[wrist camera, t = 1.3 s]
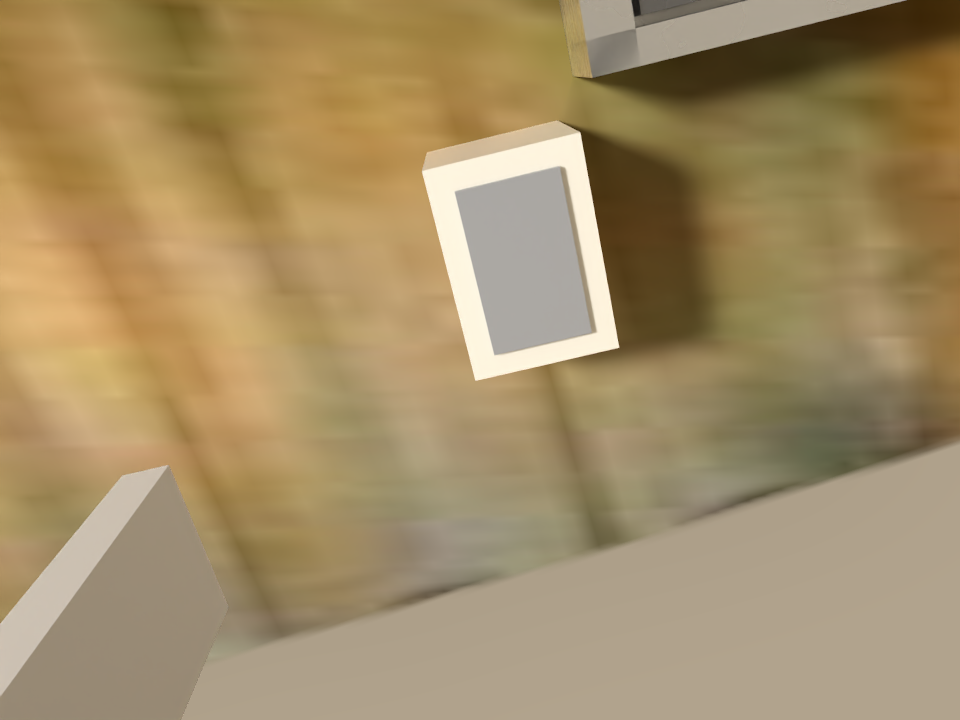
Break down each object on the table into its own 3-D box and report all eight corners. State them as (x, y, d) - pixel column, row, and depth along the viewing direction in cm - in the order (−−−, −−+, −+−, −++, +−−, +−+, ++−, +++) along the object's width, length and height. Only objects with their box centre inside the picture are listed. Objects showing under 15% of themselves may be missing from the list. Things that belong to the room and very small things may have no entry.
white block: (427, 152, 26) (421, 172, 22) (557, 120, 26) (581, 132, 21) (471, 329, 29) (475, 382, 24) (591, 301, 29) (620, 349, 24)
